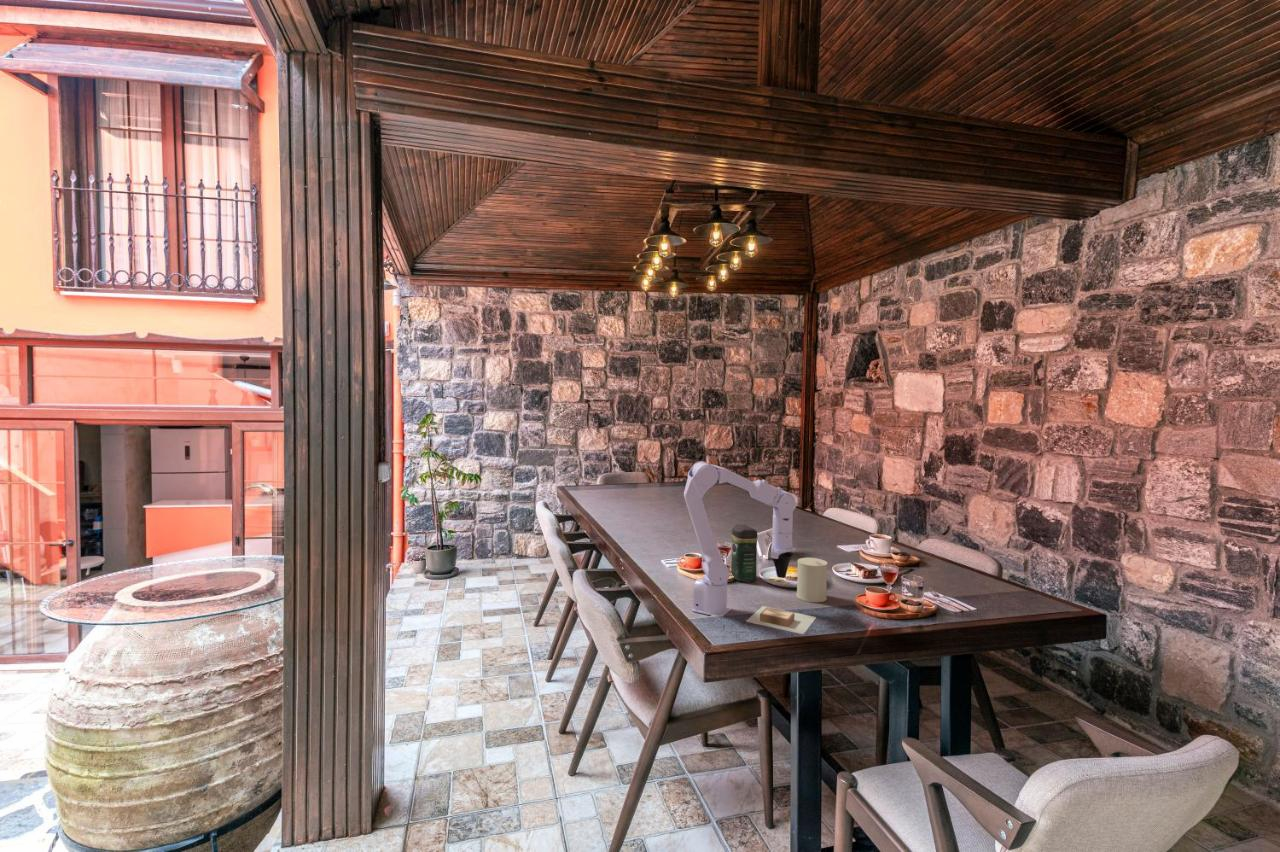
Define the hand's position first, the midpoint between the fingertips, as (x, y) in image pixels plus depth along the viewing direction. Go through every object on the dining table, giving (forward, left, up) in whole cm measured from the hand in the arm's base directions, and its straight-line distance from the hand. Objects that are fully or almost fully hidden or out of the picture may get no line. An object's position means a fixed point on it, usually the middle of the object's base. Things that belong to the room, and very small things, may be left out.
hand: (781, 577), depth 169 cm
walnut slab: (+2, -7, -8) cm, 11 cm away
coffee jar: (-20, +22, -10) cm, 31 cm away
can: (+5, +16, -10) cm, 20 cm away
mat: (+3, -9, -10) cm, 13 cm away
